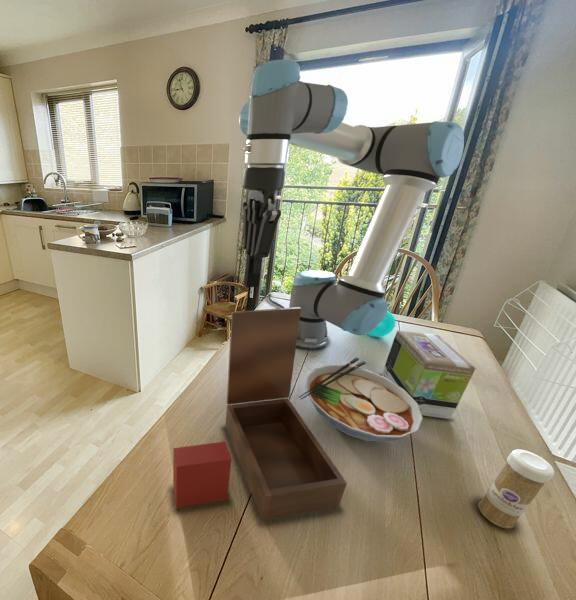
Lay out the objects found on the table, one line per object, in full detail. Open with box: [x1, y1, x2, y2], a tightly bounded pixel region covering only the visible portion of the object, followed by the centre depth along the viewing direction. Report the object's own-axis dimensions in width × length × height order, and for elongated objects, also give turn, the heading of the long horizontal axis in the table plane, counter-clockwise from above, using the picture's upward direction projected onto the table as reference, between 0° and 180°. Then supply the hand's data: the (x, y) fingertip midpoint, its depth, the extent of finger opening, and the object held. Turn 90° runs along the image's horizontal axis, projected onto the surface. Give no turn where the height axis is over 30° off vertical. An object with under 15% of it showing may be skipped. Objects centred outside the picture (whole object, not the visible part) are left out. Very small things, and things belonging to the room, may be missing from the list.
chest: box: [224, 398, 348, 521], centre depth 60 cm, size 20×14×7 cm
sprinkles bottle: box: [477, 448, 555, 530], centre depth 50 cm, size 5×5×13 cm
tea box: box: [381, 330, 476, 420], centre depth 76 cm, size 15×10×15 cm
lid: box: [226, 307, 301, 405], centre depth 64 cm, size 21×14×1 cm
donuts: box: [366, 310, 397, 338], centre depth 107 cm, size 10×10×10 cm
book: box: [172, 441, 232, 511], centre depth 53 cm, size 4×9×11 cm, turn 99°
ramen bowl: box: [298, 356, 424, 442], centre depth 70 cm, size 25×23×8 cm
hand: (251, 285), depth 67 cm, fingers closed
